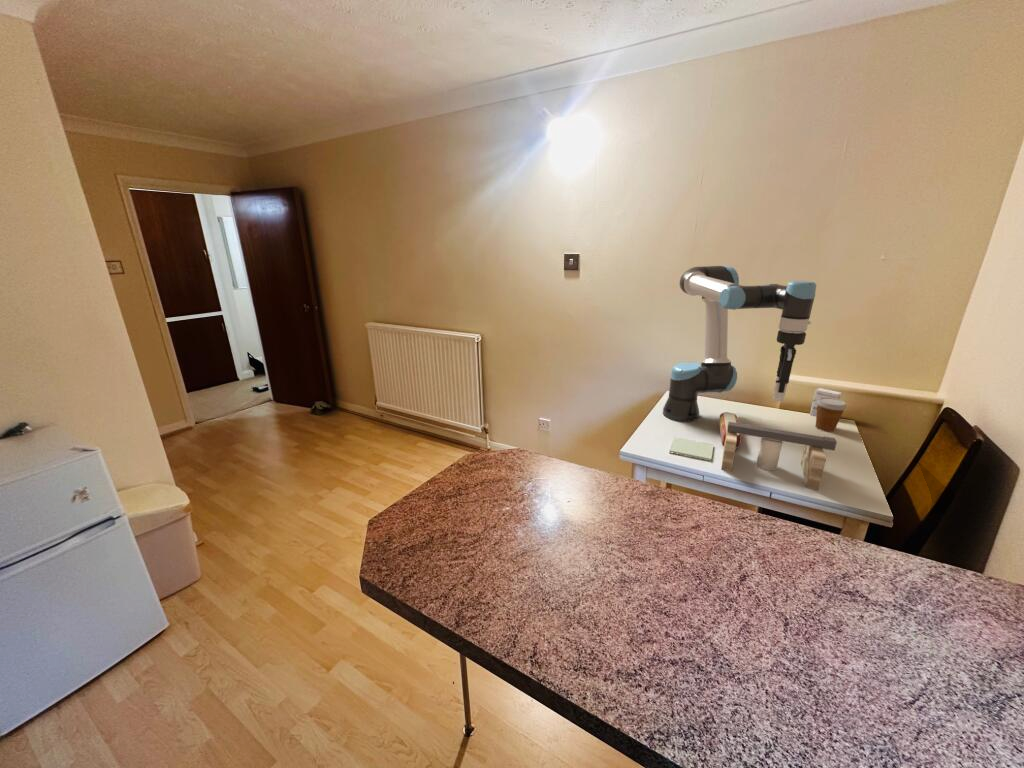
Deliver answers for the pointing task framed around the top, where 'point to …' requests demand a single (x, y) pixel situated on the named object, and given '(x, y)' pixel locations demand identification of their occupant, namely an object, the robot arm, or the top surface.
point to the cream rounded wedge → (769, 454)
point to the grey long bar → (783, 435)
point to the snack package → (723, 424)
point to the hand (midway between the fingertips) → (778, 398)
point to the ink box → (823, 393)
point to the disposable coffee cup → (829, 413)
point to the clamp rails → (810, 462)
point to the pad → (692, 448)
